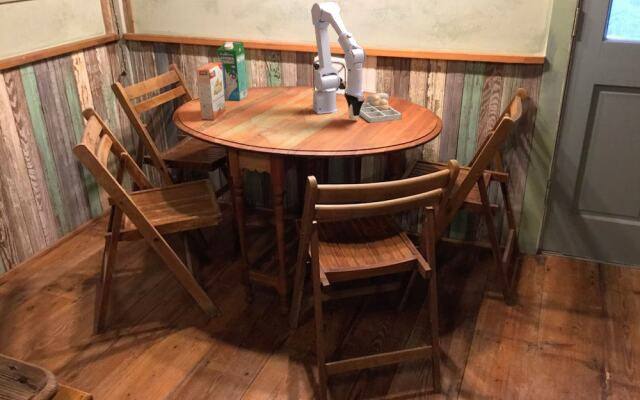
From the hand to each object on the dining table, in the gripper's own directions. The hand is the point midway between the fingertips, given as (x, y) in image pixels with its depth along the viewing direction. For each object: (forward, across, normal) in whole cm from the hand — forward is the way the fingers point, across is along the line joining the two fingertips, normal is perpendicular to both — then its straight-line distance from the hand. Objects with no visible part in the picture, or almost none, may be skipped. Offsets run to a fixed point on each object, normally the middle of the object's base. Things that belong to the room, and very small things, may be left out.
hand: (354, 113), depth 218 cm
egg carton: (+3, +6, -12) cm, 14 cm away
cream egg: (+2, 0, 0) cm, 2 cm away
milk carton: (+4, +54, +39) cm, 67 cm away
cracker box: (+4, +30, +52) cm, 60 cm away
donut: (+2, +21, -22) cm, 31 cm away
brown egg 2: (+3, +6, -15) cm, 17 cm away
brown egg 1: (+3, +13, -15) cm, 20 cm away
